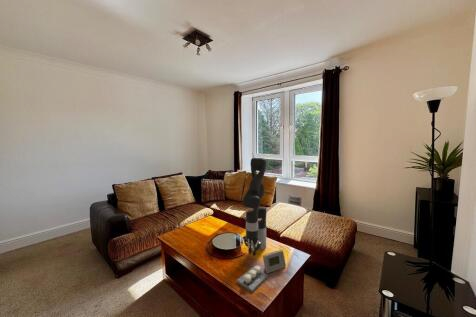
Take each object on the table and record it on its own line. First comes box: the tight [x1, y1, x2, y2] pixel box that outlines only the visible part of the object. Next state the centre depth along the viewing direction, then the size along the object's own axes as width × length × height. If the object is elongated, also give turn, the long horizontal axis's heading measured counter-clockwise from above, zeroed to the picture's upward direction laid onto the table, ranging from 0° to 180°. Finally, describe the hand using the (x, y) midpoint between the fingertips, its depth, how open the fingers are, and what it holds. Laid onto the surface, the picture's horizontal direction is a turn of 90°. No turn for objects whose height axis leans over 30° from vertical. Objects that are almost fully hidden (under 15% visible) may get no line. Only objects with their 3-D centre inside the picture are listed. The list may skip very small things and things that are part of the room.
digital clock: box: [262, 249, 287, 274], centre depth 133 cm, size 16×9×11 cm, turn 102°
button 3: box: [253, 265, 262, 276], centre depth 127 cm, size 5×5×3 cm
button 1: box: [243, 273, 252, 285], centre depth 119 cm, size 5×5×3 cm
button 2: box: [249, 270, 256, 280], centre depth 123 cm, size 5×5×3 cm
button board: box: [236, 266, 269, 293], centre depth 123 cm, size 12×16×2 cm
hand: (252, 254), depth 121 cm, fingers open, 2 cm apart
